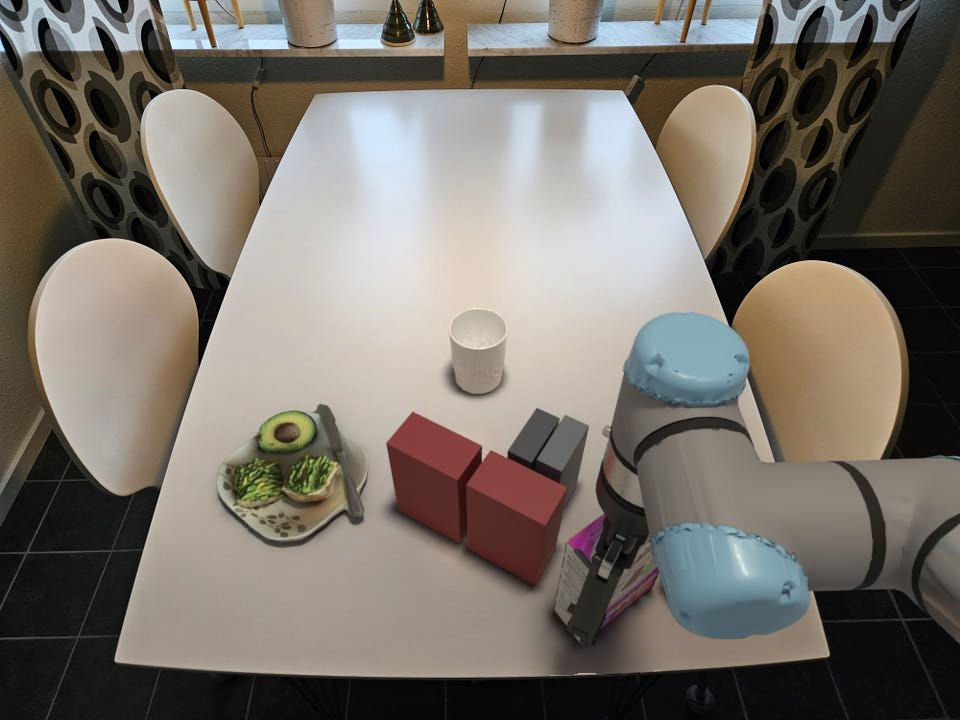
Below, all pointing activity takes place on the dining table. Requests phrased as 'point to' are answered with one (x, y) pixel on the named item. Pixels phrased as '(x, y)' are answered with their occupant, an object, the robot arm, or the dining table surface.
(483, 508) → the maroon boxes
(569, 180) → the dining table surface
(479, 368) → the white cup
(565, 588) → the candy bar box
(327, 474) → the avocado toast plate
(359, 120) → the dining table surface
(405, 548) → the dining table surface
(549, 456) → the grey boxes
